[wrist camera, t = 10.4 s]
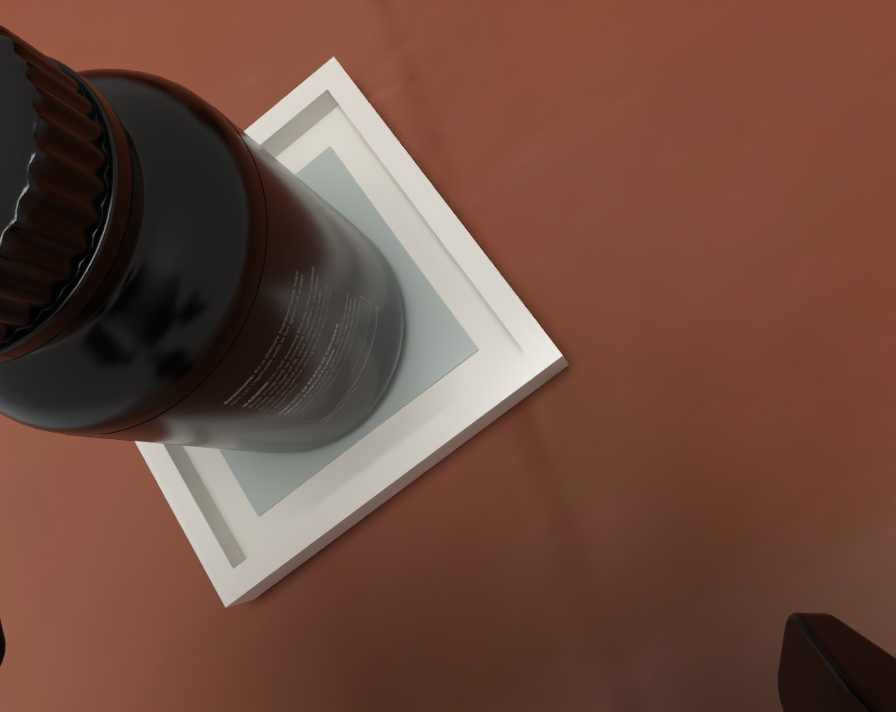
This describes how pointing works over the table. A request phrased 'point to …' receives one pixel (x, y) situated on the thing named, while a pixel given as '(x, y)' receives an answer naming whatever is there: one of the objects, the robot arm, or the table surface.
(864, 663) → the robot arm
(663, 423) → the table surface
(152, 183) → the supplement bottle
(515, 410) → the table surface
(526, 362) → the cream ceramic dish
